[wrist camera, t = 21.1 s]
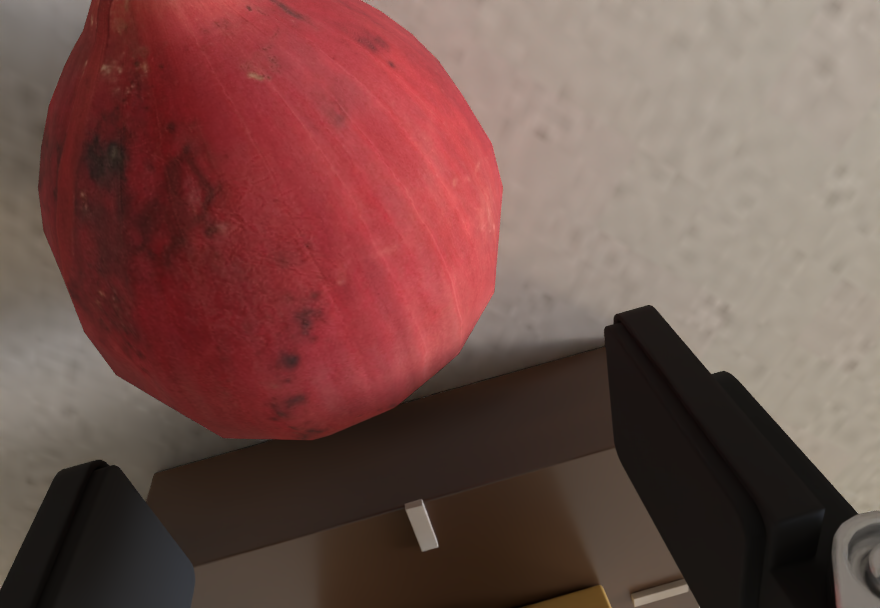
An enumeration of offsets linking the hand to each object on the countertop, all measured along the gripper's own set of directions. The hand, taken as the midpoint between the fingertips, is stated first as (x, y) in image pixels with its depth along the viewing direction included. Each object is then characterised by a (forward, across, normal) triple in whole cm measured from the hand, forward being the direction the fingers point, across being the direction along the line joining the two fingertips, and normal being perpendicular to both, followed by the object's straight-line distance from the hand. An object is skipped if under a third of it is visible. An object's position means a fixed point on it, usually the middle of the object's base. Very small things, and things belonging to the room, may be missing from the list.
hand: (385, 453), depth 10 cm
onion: (+2, 0, 0) cm, 2 cm away
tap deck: (+4, 0, +8) cm, 9 cm away
